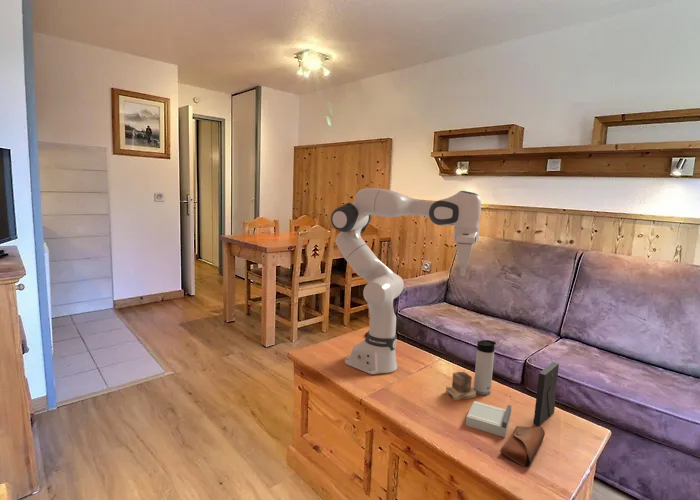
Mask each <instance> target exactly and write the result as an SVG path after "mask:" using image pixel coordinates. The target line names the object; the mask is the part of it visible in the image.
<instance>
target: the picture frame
mask: <svg viewBox="0 0 700 500" xmlns="http://www.w3.org/2000/svg"><path fill="white" fill-rule="evenodd" d="M559 366H560V364H559V363H558V362H552V363H550V364H549V365H547V366H546V367H545V368H544V369H542V370H541V371H540V372H539V373H538V380H537V389H536V397H535V406H534V407H535V408H534V416H533V425H535V426H537V427H541V426H542V425H543V423H544V422H545V421H546V420H547V419H548V418H550V417H552V415H553V414H555V408H556V393H557V392H556V391H557V383H558V378H559V377H558V375H559Z"/></svg>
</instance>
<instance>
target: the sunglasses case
mask: <svg viewBox="0 0 700 500" xmlns="http://www.w3.org/2000/svg"><path fill="white" fill-rule="evenodd" d="M545 435H546V432H545V430H544V428H543V427H542V426H537V427H532V426H531V427H530V426H518V425H517V426H515V428H514V430H513V432H512V434H511V435H510V436H509V438H508V439H507V441H506V442H505V443H504V444H503V446H502V447H501V448H500V450H499V452H500V453H501V454H502V455H503V456H505V457H507V458H508V459H510V460H511V461H513V462H515V463H516V464H518V465H520V466H521V467H524V468H528V467H530V465H531V463H532V462H533V460H534V458H535V456H536V454H537V453H538V452H537V451H538V450H539V447H540V446H541V444H542V442H543V441H544V437H545Z"/></svg>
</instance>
